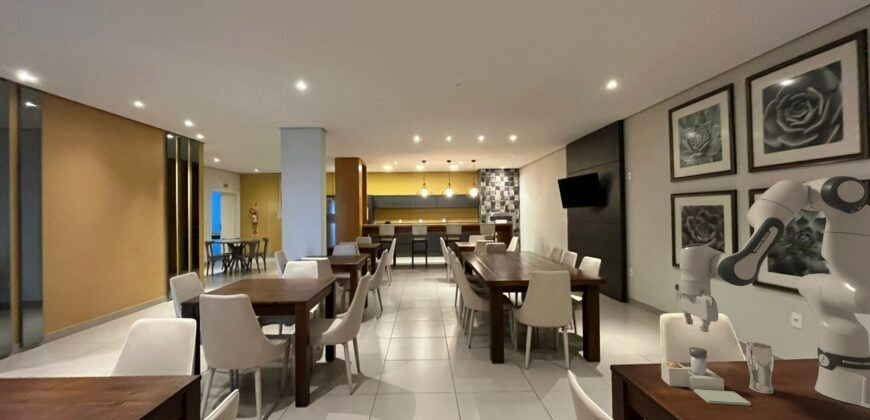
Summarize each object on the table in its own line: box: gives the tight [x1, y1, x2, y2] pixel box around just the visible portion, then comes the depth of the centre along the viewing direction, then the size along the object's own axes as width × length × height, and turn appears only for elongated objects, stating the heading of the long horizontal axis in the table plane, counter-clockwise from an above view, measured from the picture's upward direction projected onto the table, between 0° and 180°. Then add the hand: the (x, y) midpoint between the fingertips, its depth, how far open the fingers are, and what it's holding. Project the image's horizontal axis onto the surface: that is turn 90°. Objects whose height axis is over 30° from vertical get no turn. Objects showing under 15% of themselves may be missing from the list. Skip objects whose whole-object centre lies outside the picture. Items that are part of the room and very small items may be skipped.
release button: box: [668, 361, 679, 368], centre depth 128 cm, size 3×3×4 cm
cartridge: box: [688, 346, 708, 376], centre depth 126 cm, size 5×5×12 cm
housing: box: [660, 361, 725, 391], centre depth 127 cm, size 16×10×6 cm, turn 81°
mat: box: [693, 389, 752, 407], centre depth 116 cm, size 12×8×1 cm, turn 81°
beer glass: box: [745, 341, 774, 395], centre depth 122 cm, size 7×7×15 cm
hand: (696, 327), depth 127 cm, fingers open, 8 cm apart
